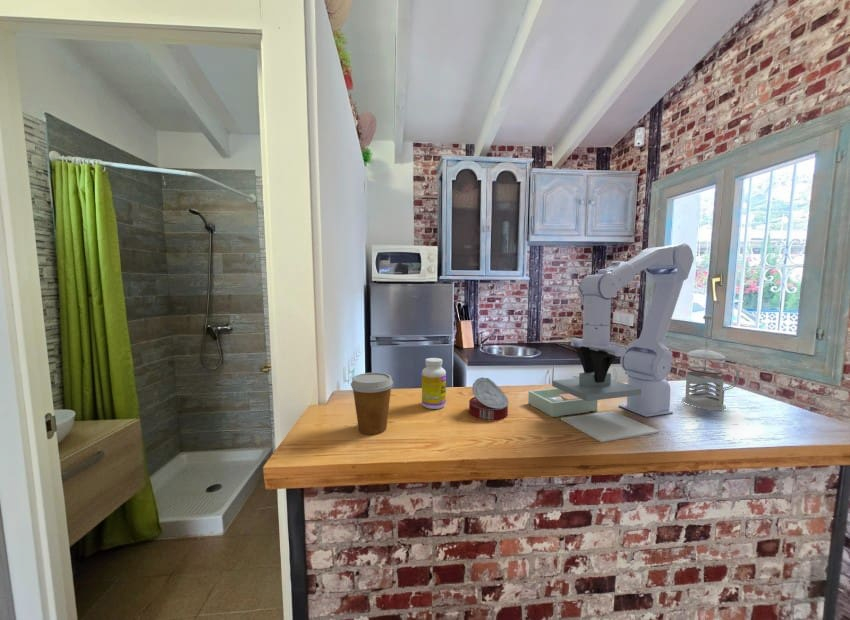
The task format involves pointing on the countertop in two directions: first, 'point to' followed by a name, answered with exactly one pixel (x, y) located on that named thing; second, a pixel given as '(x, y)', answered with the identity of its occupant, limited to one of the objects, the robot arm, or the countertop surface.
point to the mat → (609, 426)
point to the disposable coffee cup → (372, 401)
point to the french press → (706, 380)
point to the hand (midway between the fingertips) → (594, 380)
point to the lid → (595, 387)
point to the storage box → (559, 402)
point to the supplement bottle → (433, 384)
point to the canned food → (488, 401)
